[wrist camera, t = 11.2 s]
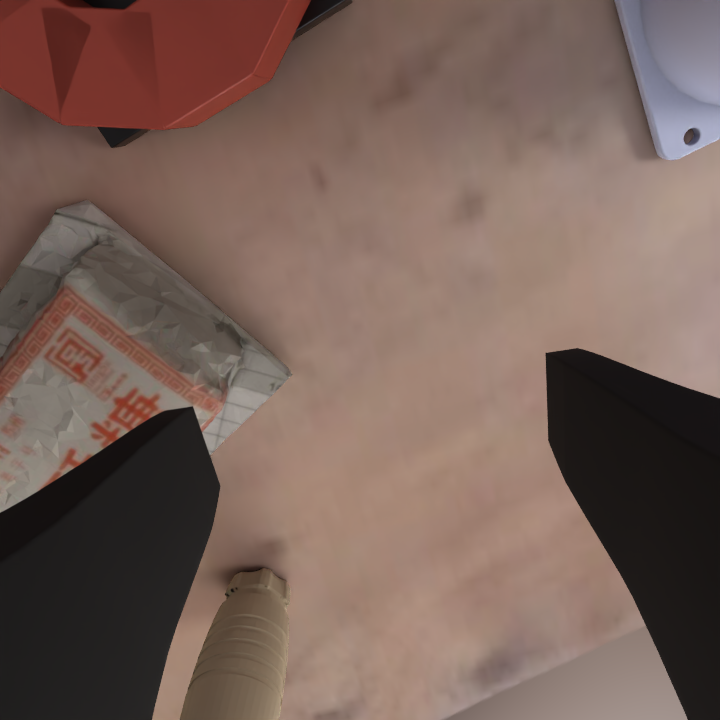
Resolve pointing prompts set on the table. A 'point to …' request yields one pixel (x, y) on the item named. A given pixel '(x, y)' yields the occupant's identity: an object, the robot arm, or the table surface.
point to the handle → (243, 653)
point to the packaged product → (111, 352)
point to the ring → (141, 57)
